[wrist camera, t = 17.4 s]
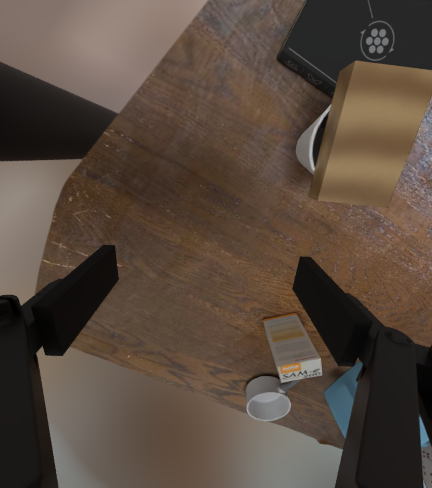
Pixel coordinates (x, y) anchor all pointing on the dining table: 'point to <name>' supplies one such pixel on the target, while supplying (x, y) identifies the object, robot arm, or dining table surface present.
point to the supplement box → (292, 348)
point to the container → (343, 398)
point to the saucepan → (268, 398)
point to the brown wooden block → (370, 132)
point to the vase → (427, 465)
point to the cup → (312, 142)
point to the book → (357, 37)
